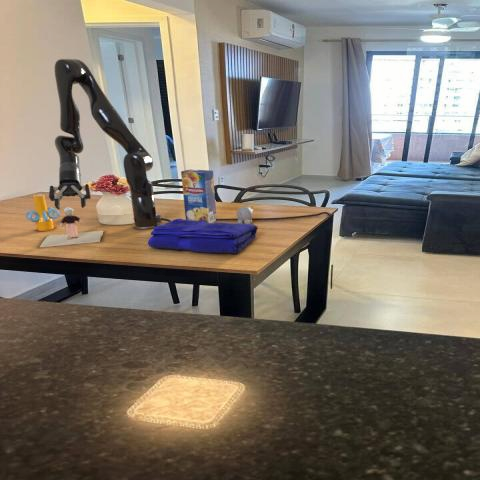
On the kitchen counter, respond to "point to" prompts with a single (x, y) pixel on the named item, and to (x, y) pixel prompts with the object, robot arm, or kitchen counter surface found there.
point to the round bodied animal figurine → (245, 215)
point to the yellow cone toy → (42, 214)
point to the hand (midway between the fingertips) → (70, 207)
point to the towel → (202, 236)
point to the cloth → (62, 239)
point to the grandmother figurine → (70, 223)
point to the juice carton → (199, 195)
